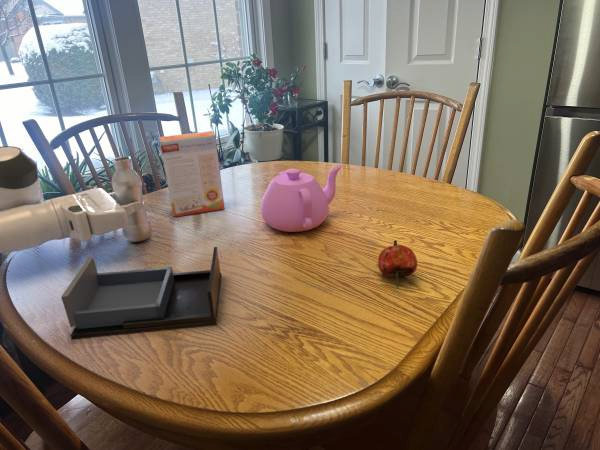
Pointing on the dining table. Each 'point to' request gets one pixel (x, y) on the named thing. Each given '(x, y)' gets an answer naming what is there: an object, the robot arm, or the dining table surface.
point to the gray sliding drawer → (116, 296)
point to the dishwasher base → (176, 305)
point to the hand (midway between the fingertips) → (134, 199)
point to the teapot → (297, 200)
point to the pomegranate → (397, 261)
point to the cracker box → (192, 173)
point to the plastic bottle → (130, 199)
